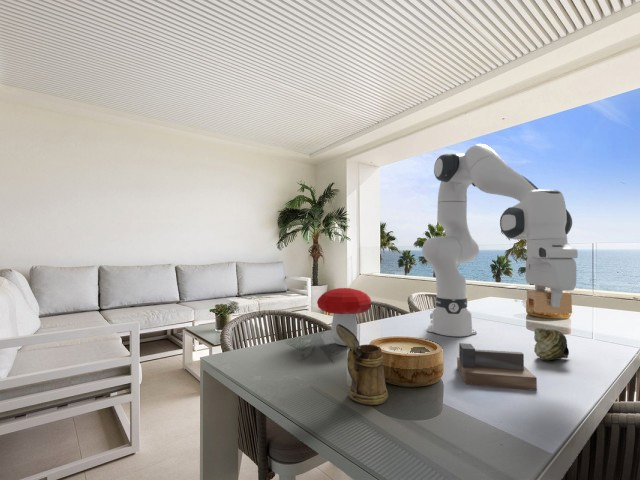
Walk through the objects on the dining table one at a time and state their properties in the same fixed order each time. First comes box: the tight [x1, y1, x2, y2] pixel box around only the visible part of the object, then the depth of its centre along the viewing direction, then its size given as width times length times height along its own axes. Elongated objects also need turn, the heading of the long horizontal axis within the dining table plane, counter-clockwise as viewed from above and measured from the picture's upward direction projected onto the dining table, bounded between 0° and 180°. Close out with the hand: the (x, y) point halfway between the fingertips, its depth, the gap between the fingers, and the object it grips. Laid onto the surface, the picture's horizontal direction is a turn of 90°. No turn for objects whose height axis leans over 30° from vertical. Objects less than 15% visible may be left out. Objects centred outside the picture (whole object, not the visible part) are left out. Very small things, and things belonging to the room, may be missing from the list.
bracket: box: [456, 342, 538, 391], centre depth 89 cm, size 12×16×8 cm
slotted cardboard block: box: [526, 289, 573, 314], centre depth 86 cm, size 6×8×5 cm
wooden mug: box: [336, 324, 389, 406], centre depth 76 cm, size 9×14×18 cm, turn 127°
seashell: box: [533, 327, 570, 361], centre depth 103 cm, size 11×11×10 cm
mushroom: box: [316, 287, 372, 346], centre depth 120 cm, size 20×19×20 cm
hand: (548, 304), depth 86 cm, fingers closed on slotted cardboard block, 6 cm apart
